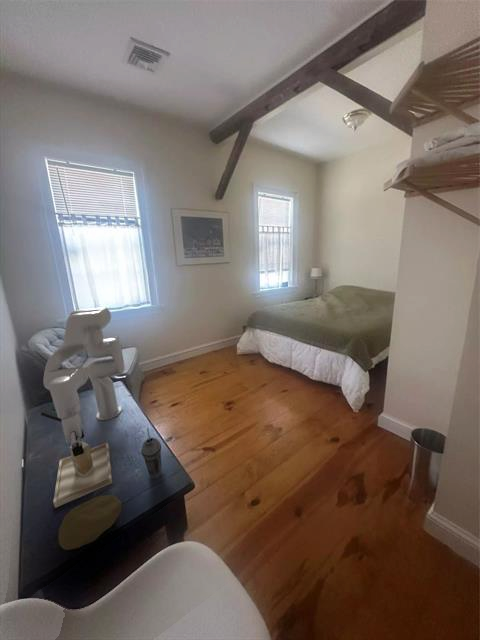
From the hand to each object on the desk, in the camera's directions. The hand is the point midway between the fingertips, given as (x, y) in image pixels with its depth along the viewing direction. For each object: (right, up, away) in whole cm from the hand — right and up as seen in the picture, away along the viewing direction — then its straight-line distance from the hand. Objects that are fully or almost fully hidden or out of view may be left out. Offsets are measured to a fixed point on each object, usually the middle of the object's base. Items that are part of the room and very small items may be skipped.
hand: (79, 446), depth 98 cm
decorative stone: (+18, -17, -20) cm, 31 cm away
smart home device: (-40, -4, +45) cm, 60 cm away
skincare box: (+1, -11, +2) cm, 11 cm away
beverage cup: (+30, -11, 0) cm, 32 cm away
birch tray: (+1, -12, +2) cm, 12 cm away
